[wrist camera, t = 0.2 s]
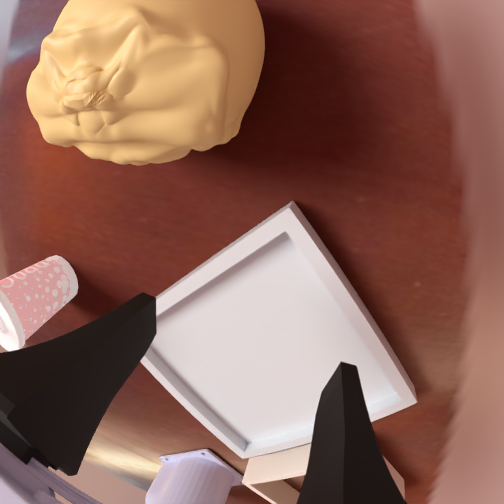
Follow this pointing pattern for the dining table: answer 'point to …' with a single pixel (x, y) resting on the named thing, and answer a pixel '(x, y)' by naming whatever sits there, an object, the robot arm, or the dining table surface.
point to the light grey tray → (270, 339)
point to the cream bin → (287, 474)
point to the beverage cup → (33, 299)
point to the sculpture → (147, 76)
